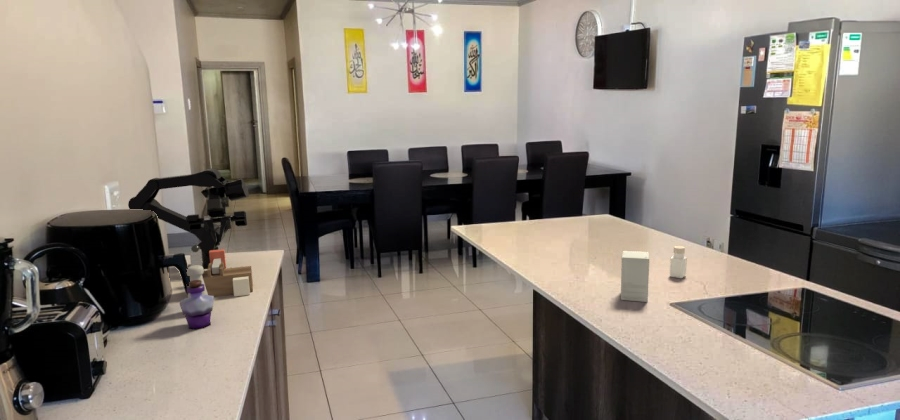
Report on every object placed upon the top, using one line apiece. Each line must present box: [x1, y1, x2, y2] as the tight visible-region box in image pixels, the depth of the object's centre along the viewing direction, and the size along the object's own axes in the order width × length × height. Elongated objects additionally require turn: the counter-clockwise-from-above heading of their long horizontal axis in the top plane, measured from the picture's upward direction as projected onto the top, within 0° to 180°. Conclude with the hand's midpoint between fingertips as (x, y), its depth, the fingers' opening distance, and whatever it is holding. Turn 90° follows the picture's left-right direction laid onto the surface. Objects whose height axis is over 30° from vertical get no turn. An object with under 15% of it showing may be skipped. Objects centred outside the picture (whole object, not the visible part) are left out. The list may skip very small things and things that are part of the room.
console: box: [203, 262, 254, 297], centre depth 176 cm, size 8×18×8 cm, turn 108°
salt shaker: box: [186, 265, 208, 298], centre depth 159 cm, size 6×6×13 cm
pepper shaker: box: [669, 245, 688, 279], centre depth 181 cm, size 4×4×10 cm
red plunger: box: [209, 248, 227, 274], centre depth 179 cm, size 13×4×6 cm, turn 18°
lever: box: [189, 244, 203, 277], centre depth 171 cm, size 2×3×10 cm
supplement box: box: [620, 250, 650, 303], centre depth 163 cm, size 7×7×13 cm
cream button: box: [233, 276, 251, 297], centre depth 173 cm, size 2×4×5 cm, turn 108°
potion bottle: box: [179, 280, 215, 331], centre depth 149 cm, size 9×9×12 cm
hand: (218, 241), depth 191 cm, fingers closed
